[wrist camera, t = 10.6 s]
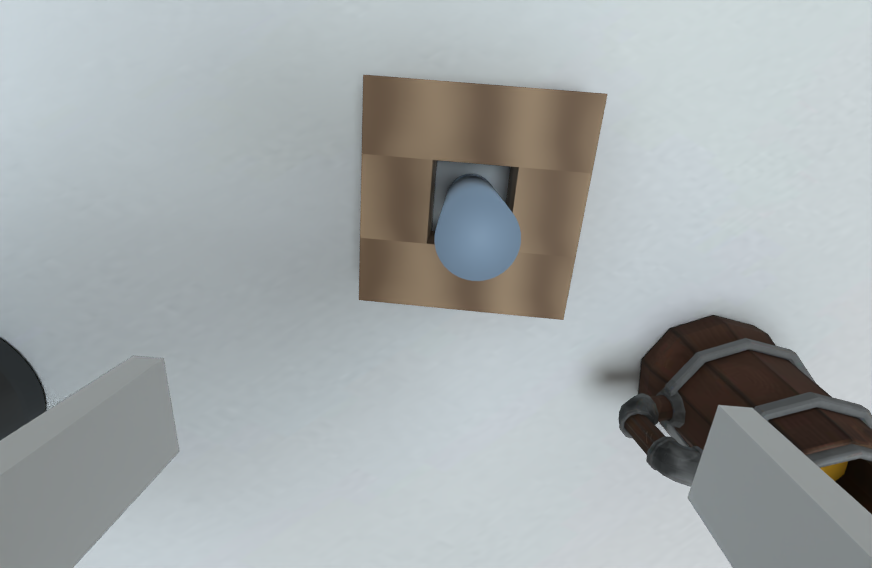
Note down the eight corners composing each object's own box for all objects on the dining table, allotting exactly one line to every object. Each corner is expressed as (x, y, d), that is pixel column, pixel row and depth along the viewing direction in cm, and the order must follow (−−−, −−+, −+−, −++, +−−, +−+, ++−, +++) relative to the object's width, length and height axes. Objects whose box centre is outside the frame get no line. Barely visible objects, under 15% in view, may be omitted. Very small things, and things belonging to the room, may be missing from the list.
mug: (782, 311, 36) (993, 421, 21) (757, 428, 39) (922, 586, 25) (596, 318, 37) (680, 426, 23) (590, 430, 41) (657, 582, 27)
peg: (444, 220, 35) (431, 276, 20) (448, 172, 34) (438, 192, 18) (491, 224, 35) (514, 284, 20) (497, 176, 33) (527, 200, 18)
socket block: (372, 280, 37) (358, 299, 32) (378, 85, 32) (363, 74, 27) (550, 297, 36) (563, 319, 32) (585, 101, 31) (607, 93, 27)
